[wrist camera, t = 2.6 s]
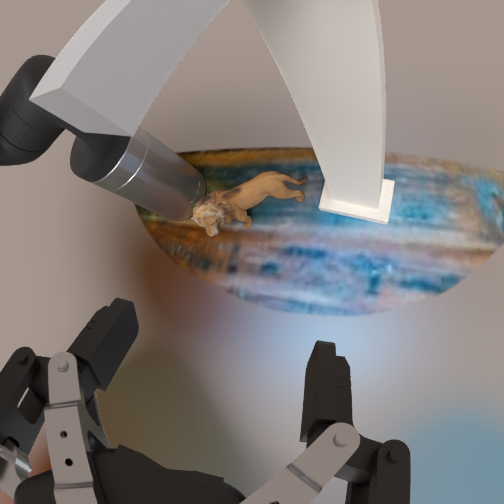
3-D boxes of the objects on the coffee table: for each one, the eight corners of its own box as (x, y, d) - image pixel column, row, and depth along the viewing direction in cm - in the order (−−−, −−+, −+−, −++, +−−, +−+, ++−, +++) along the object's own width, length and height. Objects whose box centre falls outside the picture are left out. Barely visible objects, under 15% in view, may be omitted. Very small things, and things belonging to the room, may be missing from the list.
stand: (319, 211, 37) (169, -23, 7) (329, 171, 37) (220, -64, 8) (386, 226, 33) (400, -56, 3) (394, 183, 33) (389, -81, 4)
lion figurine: (229, 251, 40) (194, 236, 32) (214, 221, 42) (179, 201, 34) (318, 192, 37) (303, 160, 29) (297, 164, 39) (278, 130, 31)
